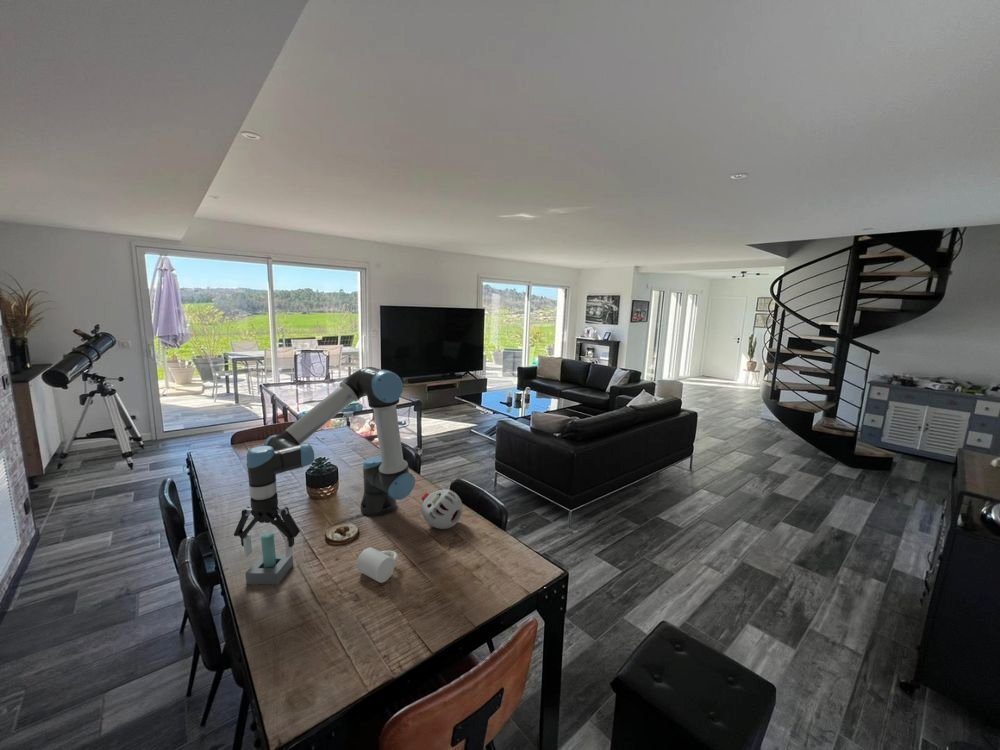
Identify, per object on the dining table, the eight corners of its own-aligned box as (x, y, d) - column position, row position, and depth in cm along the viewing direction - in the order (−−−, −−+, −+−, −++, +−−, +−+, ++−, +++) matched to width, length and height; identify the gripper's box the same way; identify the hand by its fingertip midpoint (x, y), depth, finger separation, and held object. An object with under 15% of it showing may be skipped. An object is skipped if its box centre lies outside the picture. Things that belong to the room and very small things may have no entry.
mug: (377, 588, 129) (376, 565, 127) (356, 576, 134) (355, 554, 132) (404, 567, 139) (403, 546, 137) (384, 557, 144) (383, 537, 142)
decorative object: (436, 509, 178) (436, 478, 175) (469, 523, 167) (469, 490, 164) (410, 524, 165) (409, 490, 162) (443, 541, 154) (443, 505, 152)
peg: (279, 570, 135) (275, 532, 133) (273, 577, 132) (270, 539, 129) (268, 570, 135) (264, 532, 133) (262, 577, 132) (258, 539, 129)
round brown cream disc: (323, 529, 162) (323, 519, 161) (362, 524, 166) (362, 514, 165) (318, 550, 148) (318, 540, 147) (361, 544, 152) (361, 534, 151)
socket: (293, 564, 139) (292, 554, 138) (277, 584, 129) (276, 573, 128) (264, 564, 139) (263, 553, 138) (246, 584, 129) (245, 573, 128)
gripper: (308, 489, 133) (311, 548, 136) (232, 488, 132) (238, 547, 136) (297, 500, 125) (301, 562, 129) (216, 499, 125) (223, 561, 129)
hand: (269, 554), depth 132 cm, fingers open, 13 cm apart
